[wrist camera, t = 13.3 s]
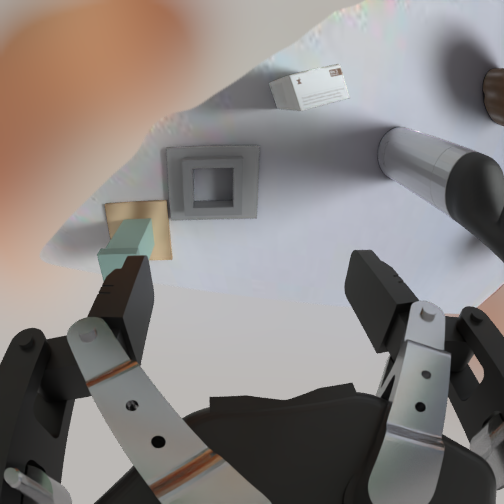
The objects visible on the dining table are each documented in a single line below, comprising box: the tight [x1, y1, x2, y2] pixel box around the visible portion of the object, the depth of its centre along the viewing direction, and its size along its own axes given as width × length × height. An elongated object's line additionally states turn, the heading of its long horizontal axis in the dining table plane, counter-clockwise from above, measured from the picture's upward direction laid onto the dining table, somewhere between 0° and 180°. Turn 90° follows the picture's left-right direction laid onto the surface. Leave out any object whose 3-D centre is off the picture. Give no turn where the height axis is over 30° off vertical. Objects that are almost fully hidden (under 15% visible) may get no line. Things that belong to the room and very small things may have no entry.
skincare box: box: [269, 64, 350, 111], centre depth 32 cm, size 6×4×12 cm
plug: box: [97, 218, 155, 280], centre depth 40 cm, size 5×5×12 cm
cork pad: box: [105, 200, 172, 260], centre depth 45 cm, size 10×10×1 cm
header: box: [166, 145, 259, 220], centre depth 42 cm, size 13×11×3 cm
